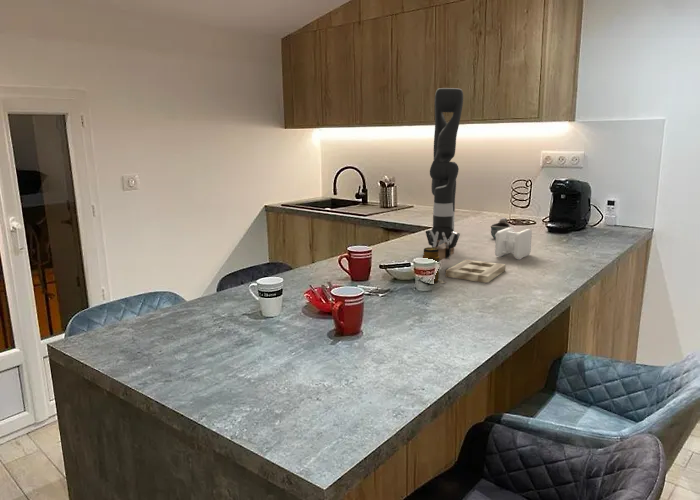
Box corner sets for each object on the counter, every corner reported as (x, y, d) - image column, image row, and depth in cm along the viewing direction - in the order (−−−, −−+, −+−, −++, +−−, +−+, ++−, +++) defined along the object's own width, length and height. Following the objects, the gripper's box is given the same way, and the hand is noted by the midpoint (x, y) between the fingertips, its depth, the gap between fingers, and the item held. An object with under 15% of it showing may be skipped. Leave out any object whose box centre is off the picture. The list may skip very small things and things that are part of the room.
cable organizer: (517, 261, 217) (518, 234, 214) (493, 258, 223) (494, 231, 221) (531, 254, 228) (532, 228, 225) (507, 251, 234) (509, 226, 232)
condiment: (432, 277, 195) (433, 245, 192) (446, 282, 188) (447, 250, 185) (416, 279, 192) (416, 247, 189) (429, 285, 185) (430, 252, 182)
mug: (488, 240, 259) (489, 220, 257) (491, 235, 270) (492, 216, 268) (508, 241, 256) (509, 221, 253) (511, 236, 267) (512, 217, 265)
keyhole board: (445, 276, 195) (445, 270, 195) (465, 265, 211) (466, 259, 211) (487, 283, 186) (487, 276, 186) (505, 270, 203) (505, 264, 202)
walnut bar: (429, 264, 202) (429, 249, 200) (444, 257, 213) (444, 242, 212) (438, 266, 200) (439, 251, 198) (453, 258, 211) (454, 243, 210)
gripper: (421, 213, 203) (421, 256, 207) (456, 217, 195) (454, 261, 199) (430, 211, 209) (429, 252, 213) (464, 214, 201) (462, 257, 205)
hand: (441, 256), depth 206 cm, fingers closed on walnut bar, 4 cm apart
